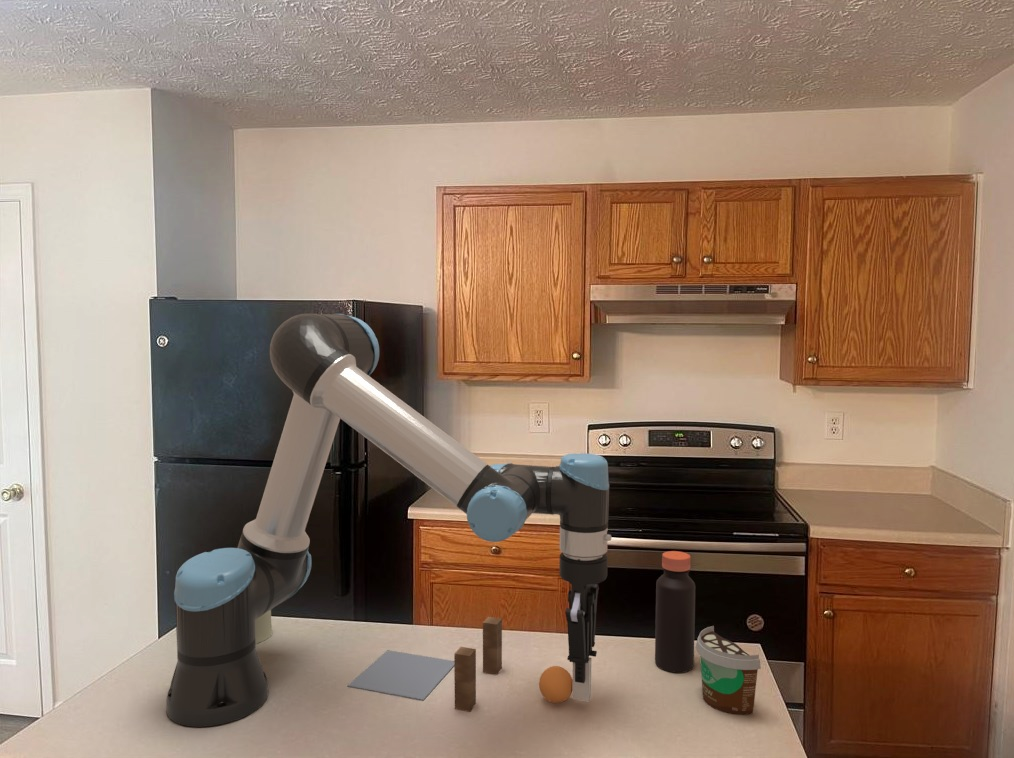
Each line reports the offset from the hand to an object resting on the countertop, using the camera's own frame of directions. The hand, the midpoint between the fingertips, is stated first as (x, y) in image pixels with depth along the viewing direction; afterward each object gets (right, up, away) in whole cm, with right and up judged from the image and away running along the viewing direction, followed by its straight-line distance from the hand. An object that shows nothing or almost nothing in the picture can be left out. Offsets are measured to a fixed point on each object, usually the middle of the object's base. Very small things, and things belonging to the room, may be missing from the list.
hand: (581, 697), depth 114 cm
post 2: (-14, 0, +12) cm, 19 cm away
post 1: (-19, -1, 0) cm, 19 cm away
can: (-63, 0, +26) cm, 68 cm away
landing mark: (-30, 0, +10) cm, 32 cm away
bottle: (+18, -1, +14) cm, 23 cm away
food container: (+22, -2, +1) cm, 22 cm away
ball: (-4, +2, +1) cm, 4 cm away
